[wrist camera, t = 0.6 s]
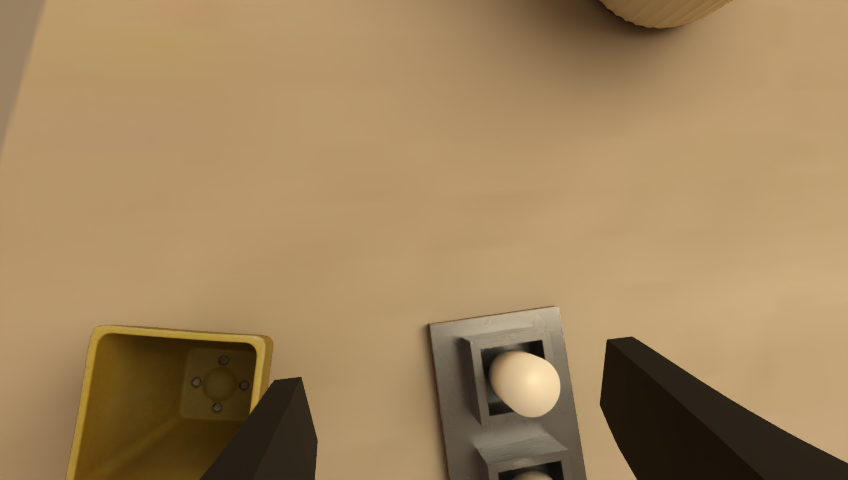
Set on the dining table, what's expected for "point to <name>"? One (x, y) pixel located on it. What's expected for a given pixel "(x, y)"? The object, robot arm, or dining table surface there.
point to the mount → (487, 414)
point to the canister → (663, 11)
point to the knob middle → (532, 475)
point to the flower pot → (163, 401)
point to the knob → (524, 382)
